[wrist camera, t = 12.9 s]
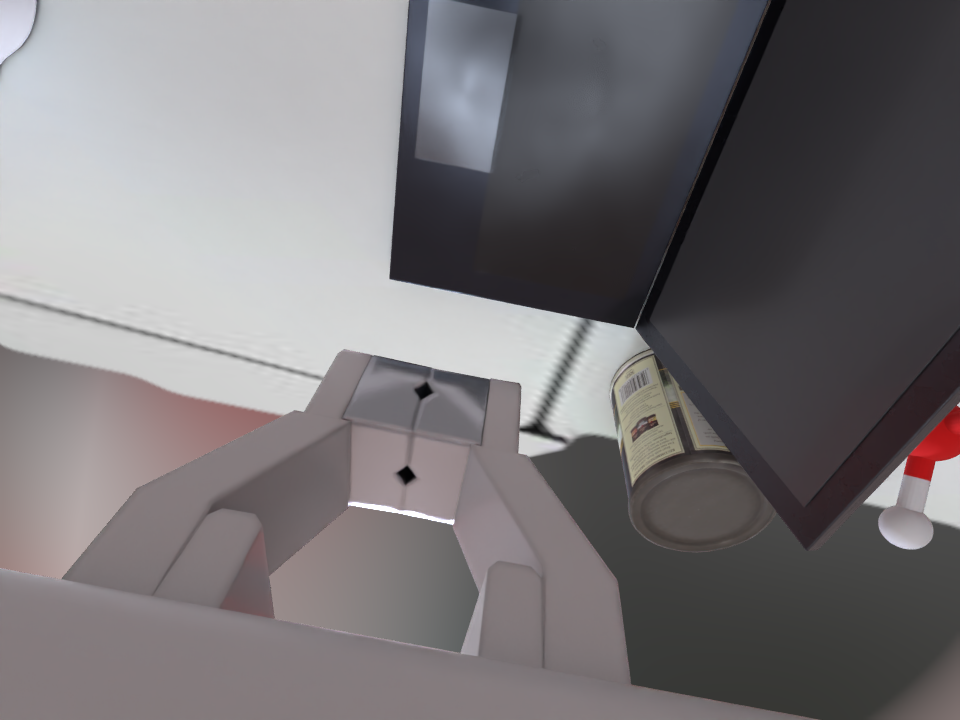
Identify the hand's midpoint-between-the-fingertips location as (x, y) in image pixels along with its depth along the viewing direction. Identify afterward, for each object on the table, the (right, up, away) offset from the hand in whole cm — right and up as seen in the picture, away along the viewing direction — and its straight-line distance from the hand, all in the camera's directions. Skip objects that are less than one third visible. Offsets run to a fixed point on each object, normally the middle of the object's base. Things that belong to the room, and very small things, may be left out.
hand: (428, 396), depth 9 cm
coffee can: (+19, -2, +40) cm, 44 cm away
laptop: (+6, +18, +27) cm, 33 cm away
